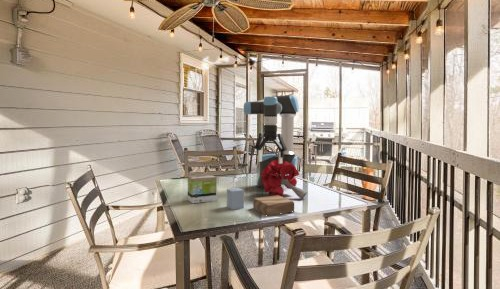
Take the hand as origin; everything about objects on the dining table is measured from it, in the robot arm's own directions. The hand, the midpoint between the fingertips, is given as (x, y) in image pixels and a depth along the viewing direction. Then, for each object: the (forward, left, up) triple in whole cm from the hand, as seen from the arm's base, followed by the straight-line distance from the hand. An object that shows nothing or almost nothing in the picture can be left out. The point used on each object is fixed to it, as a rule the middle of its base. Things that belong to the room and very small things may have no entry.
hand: (270, 162), depth 177 cm
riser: (+10, -4, -25) cm, 27 cm away
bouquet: (-12, +17, -24) cm, 32 cm away
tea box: (-26, -32, -25) cm, 48 cm away
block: (-4, -20, -24) cm, 31 cm away
